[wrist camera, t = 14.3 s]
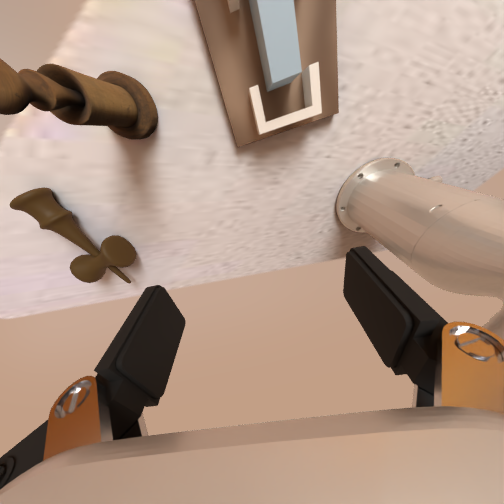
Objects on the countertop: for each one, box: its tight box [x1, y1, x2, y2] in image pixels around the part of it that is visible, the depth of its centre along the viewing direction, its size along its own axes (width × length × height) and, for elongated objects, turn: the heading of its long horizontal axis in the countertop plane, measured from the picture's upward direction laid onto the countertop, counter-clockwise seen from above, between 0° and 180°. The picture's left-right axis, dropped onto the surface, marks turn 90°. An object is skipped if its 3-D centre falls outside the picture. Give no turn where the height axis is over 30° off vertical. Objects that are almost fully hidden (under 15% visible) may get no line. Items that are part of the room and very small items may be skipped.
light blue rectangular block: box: [249, 0, 302, 92], centre depth 18 cm, size 3×10×5 cm, turn 17°
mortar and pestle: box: [0, 59, 158, 139], centre depth 17 cm, size 7×6×18 cm
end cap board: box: [195, 0, 339, 147], centre depth 21 cm, size 14×17×2 cm
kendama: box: [10, 188, 136, 283], centre depth 32 cm, size 6×10×20 cm
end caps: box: [227, 0, 322, 134], centre depth 19 cm, size 8×16×3 cm, turn 16°
